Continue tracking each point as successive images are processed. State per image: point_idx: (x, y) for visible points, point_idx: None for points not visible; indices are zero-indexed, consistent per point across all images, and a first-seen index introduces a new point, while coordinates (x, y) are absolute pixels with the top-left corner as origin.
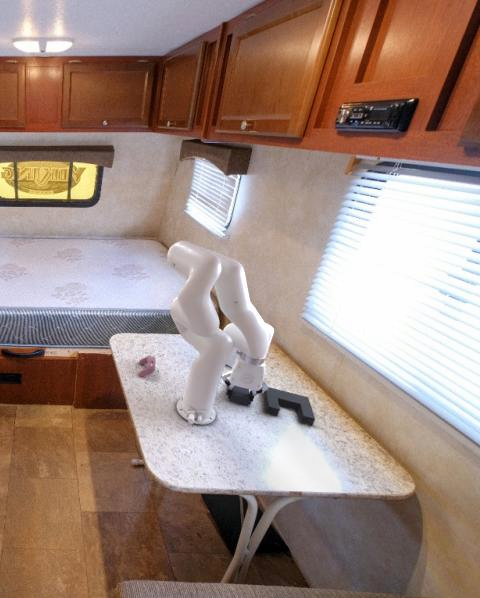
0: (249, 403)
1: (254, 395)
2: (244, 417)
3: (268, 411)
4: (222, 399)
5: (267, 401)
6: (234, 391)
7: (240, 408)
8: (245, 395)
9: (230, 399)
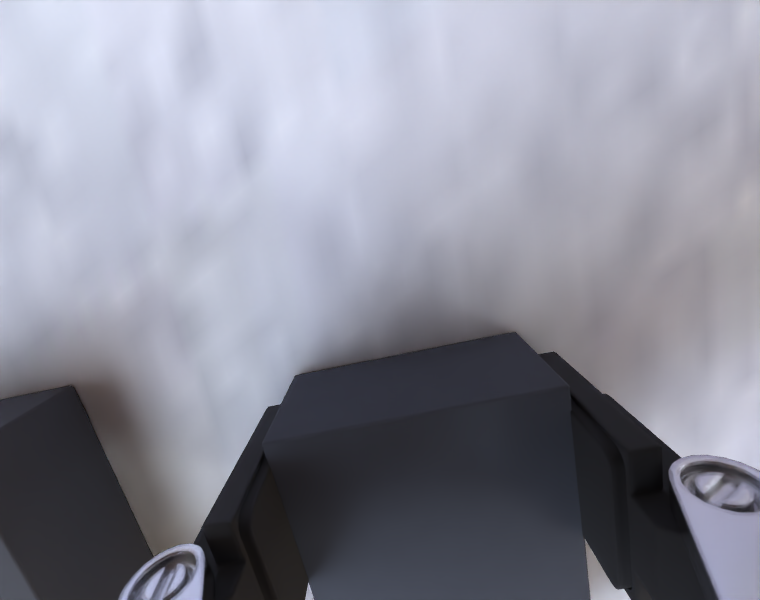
0: (275, 411)
1: (176, 557)
2: (271, 100)
3: (28, 403)
4: (607, 311)
5: (55, 564)
6: (532, 496)
7: (362, 273)
8: (349, 502)
9: (522, 344)
